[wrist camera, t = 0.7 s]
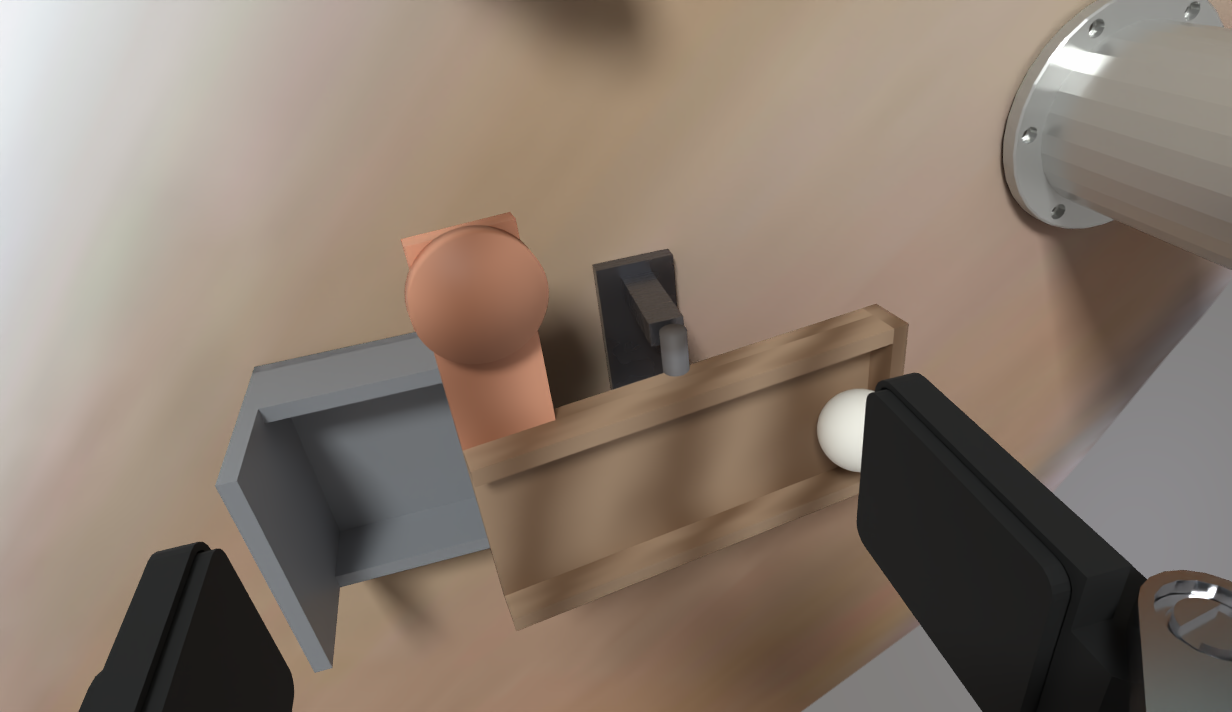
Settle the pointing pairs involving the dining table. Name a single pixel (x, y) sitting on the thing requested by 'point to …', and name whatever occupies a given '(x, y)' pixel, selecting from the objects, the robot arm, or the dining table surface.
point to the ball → (843, 428)
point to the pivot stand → (635, 313)
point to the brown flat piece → (625, 427)
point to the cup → (347, 477)
